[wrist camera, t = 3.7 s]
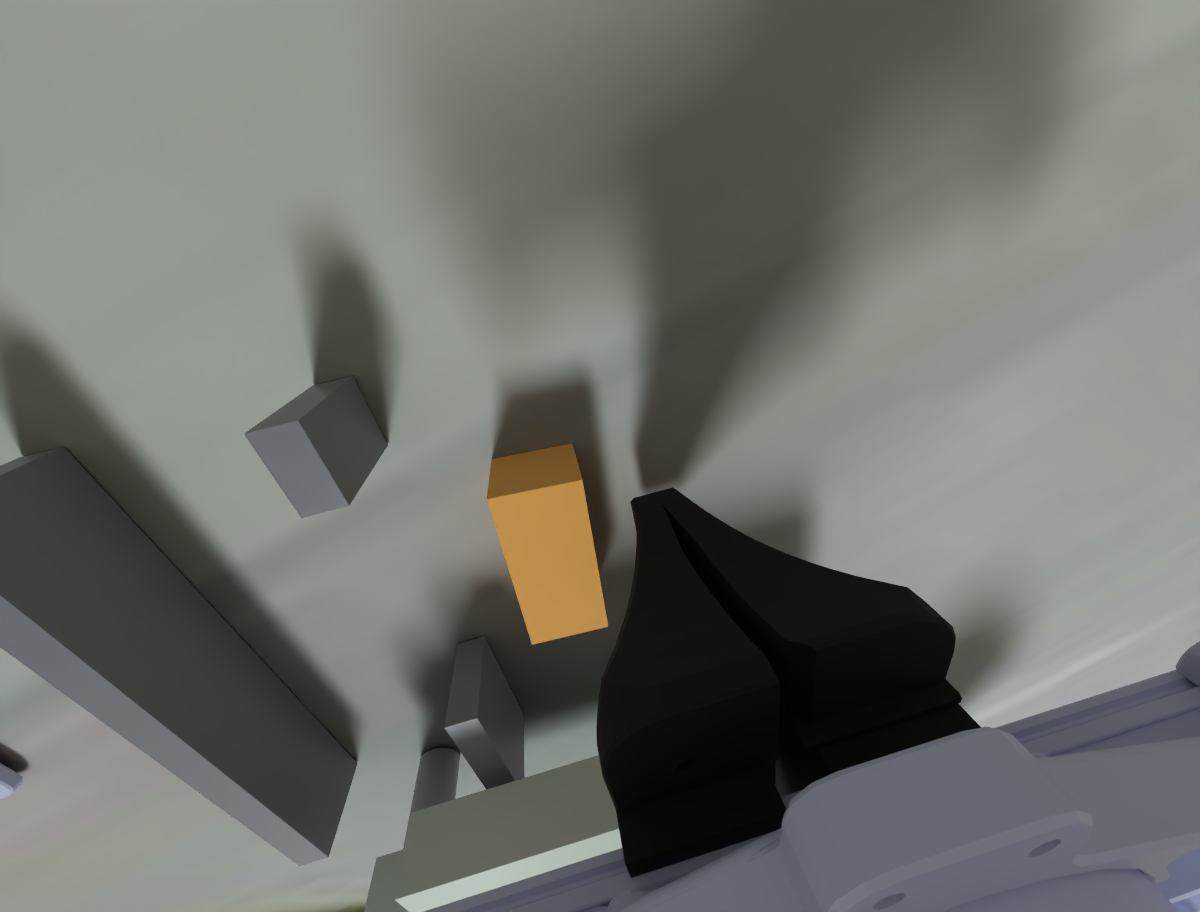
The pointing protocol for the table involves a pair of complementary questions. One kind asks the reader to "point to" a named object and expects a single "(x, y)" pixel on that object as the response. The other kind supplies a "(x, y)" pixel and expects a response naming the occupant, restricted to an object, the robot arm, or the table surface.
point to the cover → (492, 833)
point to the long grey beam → (211, 634)
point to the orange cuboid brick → (547, 541)
